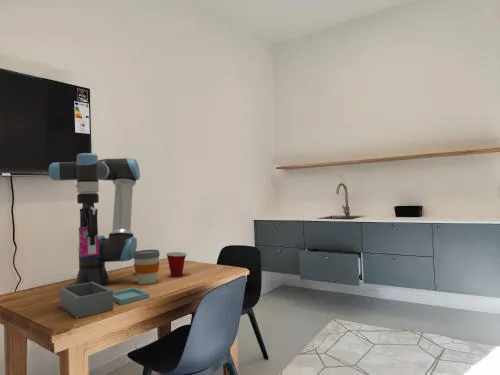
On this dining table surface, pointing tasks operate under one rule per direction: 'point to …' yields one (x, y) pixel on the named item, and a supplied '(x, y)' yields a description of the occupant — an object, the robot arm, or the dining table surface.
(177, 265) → the plastic cup
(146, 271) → the reusable coffee cup
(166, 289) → the dining table surface
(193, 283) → the dining table surface
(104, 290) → the deep bin
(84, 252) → the supplement box
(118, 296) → the tray
